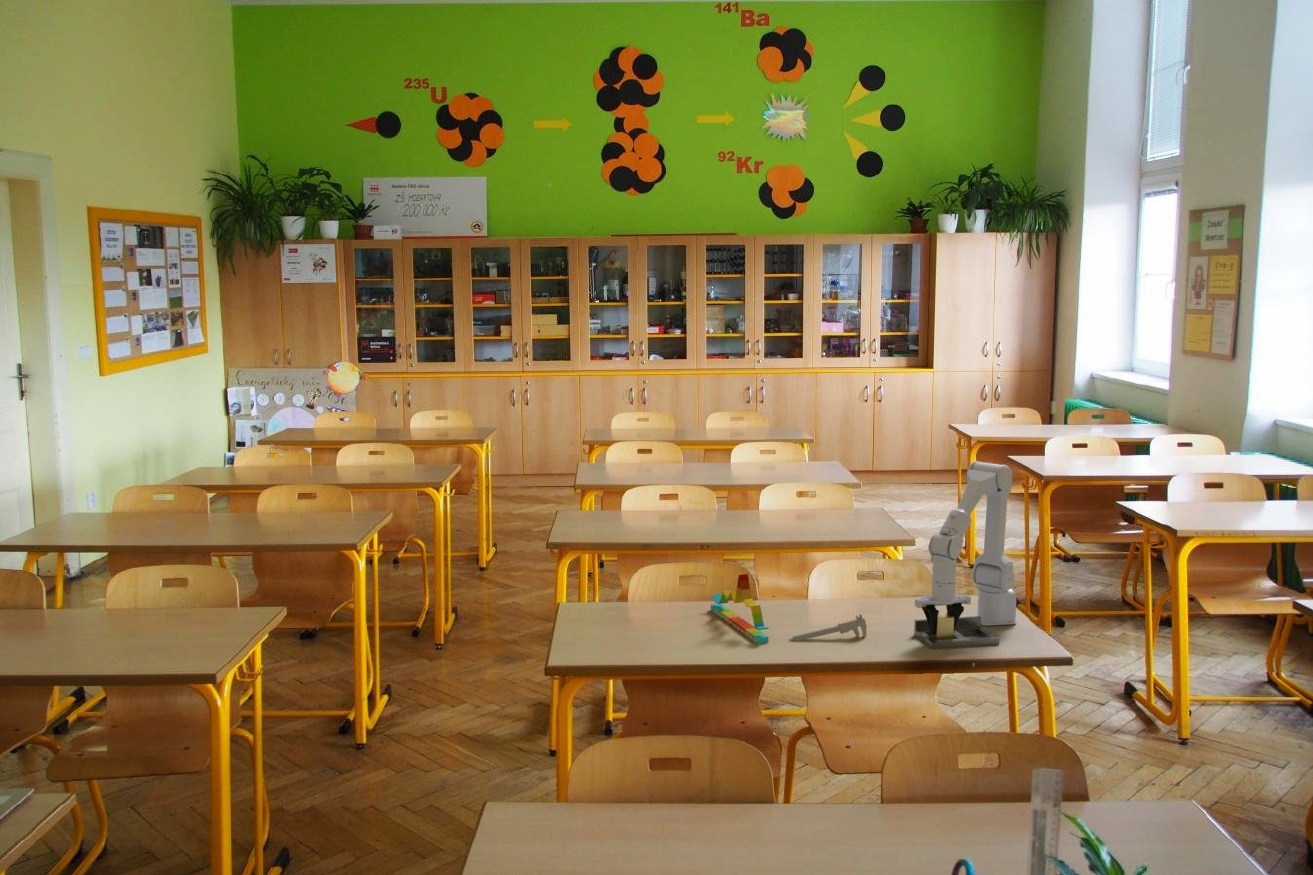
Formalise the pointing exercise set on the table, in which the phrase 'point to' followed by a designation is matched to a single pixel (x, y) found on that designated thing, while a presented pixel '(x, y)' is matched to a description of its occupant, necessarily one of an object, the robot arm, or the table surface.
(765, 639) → the rainbow striped peaked bar
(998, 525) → the robot arm
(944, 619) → the brass block
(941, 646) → the grey tray
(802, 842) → the table surface
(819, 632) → the caliper
